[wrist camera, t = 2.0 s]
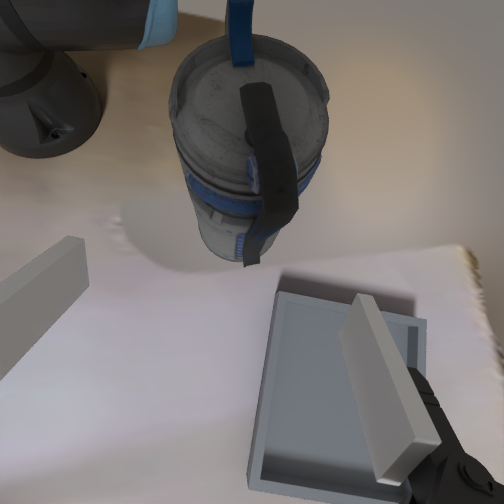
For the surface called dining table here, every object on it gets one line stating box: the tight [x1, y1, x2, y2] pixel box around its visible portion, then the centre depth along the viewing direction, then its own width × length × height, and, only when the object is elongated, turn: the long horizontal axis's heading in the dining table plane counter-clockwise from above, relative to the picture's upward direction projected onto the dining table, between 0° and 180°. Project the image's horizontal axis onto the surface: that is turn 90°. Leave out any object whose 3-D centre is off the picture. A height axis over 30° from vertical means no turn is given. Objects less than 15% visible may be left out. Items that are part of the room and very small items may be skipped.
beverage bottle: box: [169, 0, 330, 267], centre depth 26 cm, size 10×13×25 cm
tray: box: [246, 291, 427, 504], centre depth 33 cm, size 20×18×3 cm
